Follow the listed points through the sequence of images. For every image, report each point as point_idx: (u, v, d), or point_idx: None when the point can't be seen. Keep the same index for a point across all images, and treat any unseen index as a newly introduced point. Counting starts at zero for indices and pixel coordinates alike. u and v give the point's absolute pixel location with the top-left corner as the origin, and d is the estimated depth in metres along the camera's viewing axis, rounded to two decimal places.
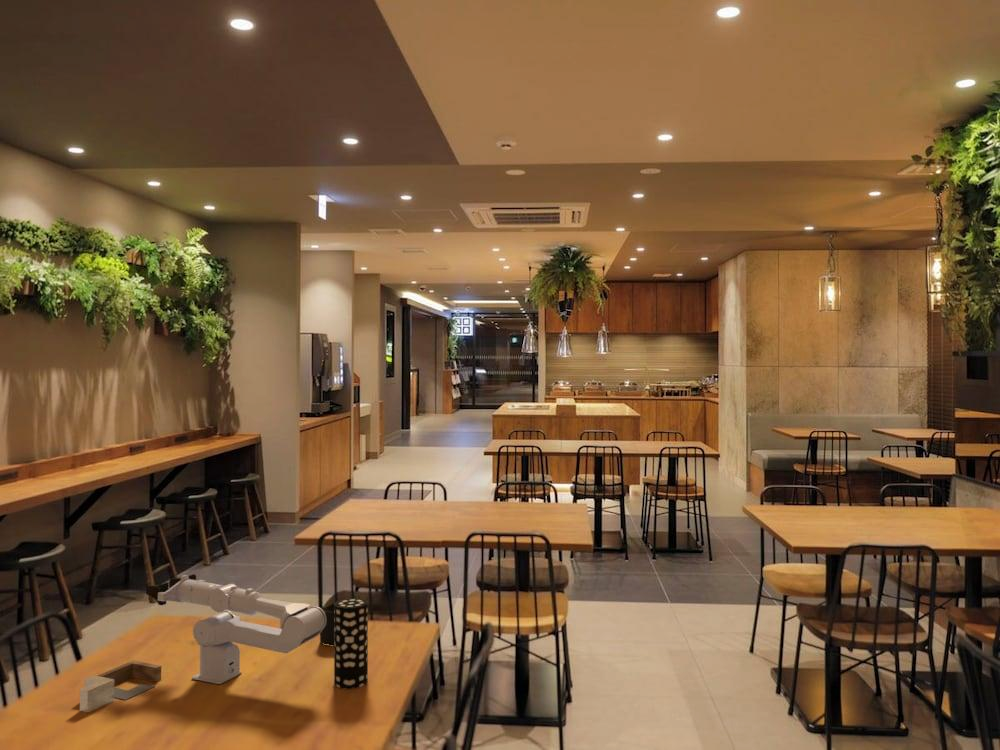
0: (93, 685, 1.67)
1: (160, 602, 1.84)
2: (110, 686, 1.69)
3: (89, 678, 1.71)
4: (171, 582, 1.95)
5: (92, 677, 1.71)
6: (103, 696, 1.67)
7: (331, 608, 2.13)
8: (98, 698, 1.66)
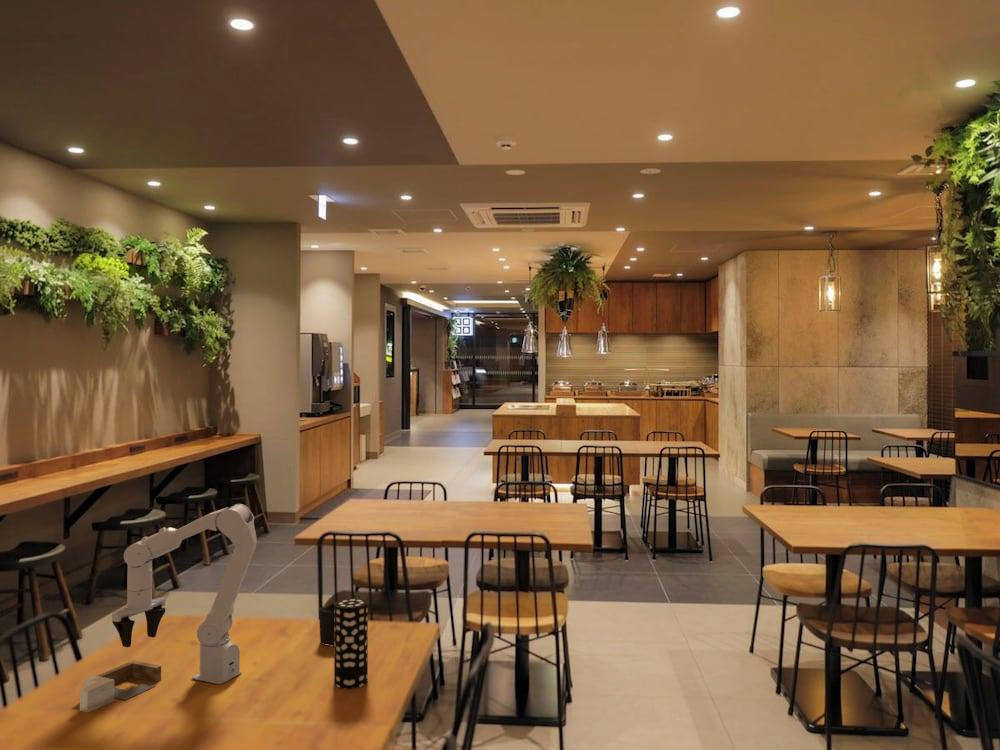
0: (93, 685, 1.67)
1: (125, 622, 1.77)
2: (109, 686, 1.69)
3: (89, 678, 1.71)
4: (149, 634, 1.87)
5: (92, 677, 1.71)
6: (103, 696, 1.67)
7: (331, 608, 2.13)
8: (98, 698, 1.66)
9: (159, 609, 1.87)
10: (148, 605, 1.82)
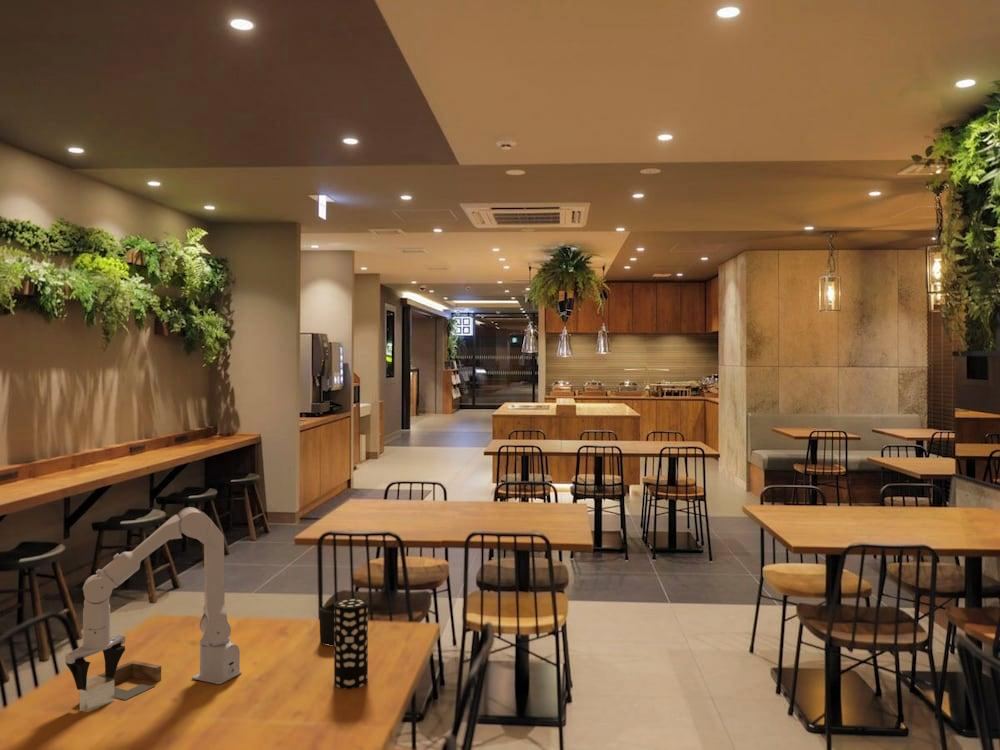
0: (93, 685, 1.67)
1: (79, 664, 1.65)
2: (109, 686, 1.69)
3: (89, 678, 1.71)
4: (108, 674, 1.74)
5: (92, 677, 1.71)
6: (103, 696, 1.67)
7: (331, 608, 2.13)
8: (98, 698, 1.66)
9: (118, 648, 1.74)
10: (105, 644, 1.70)
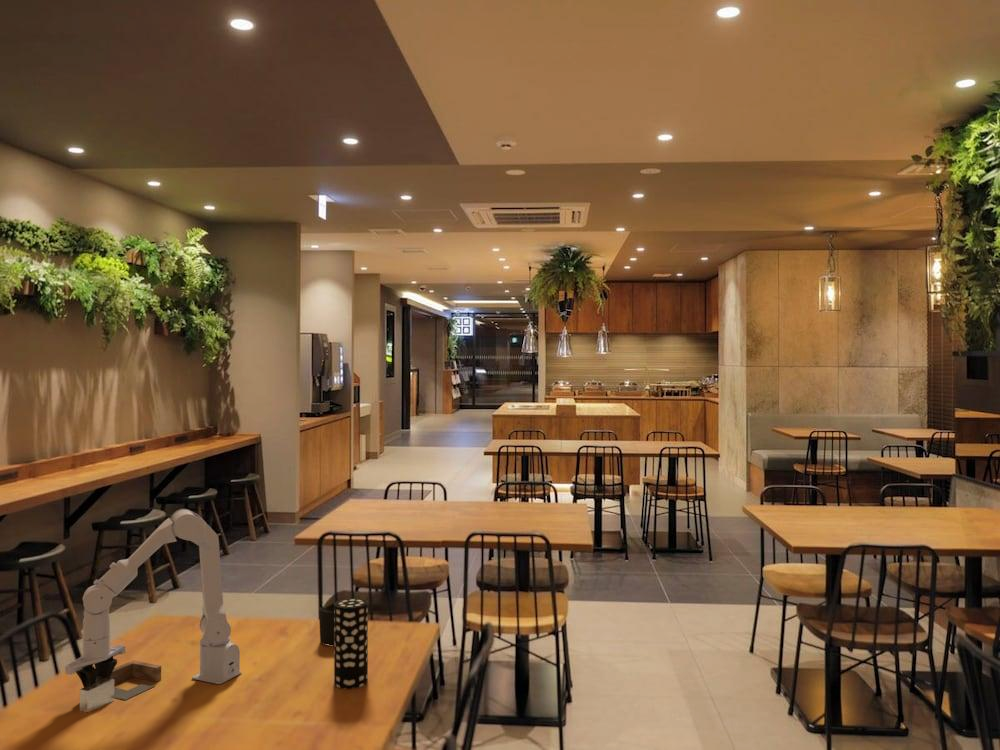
0: (93, 685, 1.67)
1: (88, 671, 1.67)
2: (109, 686, 1.69)
3: None
4: None
5: None
6: (103, 696, 1.67)
7: (331, 608, 2.13)
8: (98, 698, 1.66)
9: (110, 661, 1.72)
10: (105, 655, 1.70)
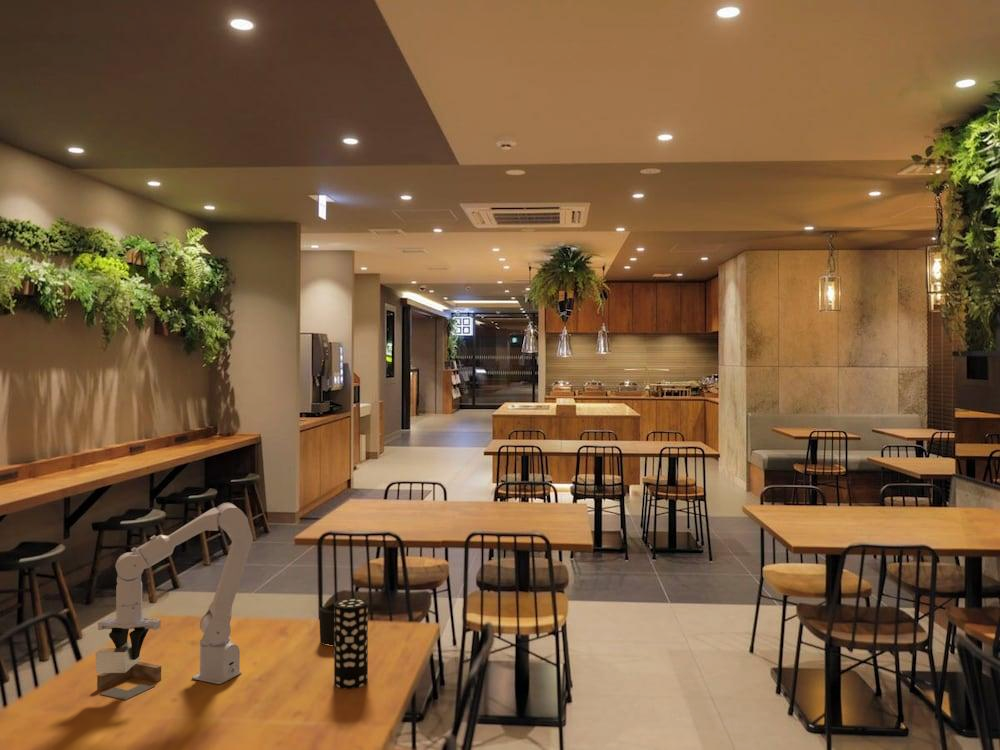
0: (110, 649, 1.72)
1: (110, 633, 1.73)
2: (119, 657, 1.70)
3: (130, 641, 1.76)
4: None
5: None
6: (112, 664, 1.70)
7: (331, 608, 2.13)
8: (107, 663, 1.70)
9: (134, 631, 1.73)
10: (124, 623, 1.72)
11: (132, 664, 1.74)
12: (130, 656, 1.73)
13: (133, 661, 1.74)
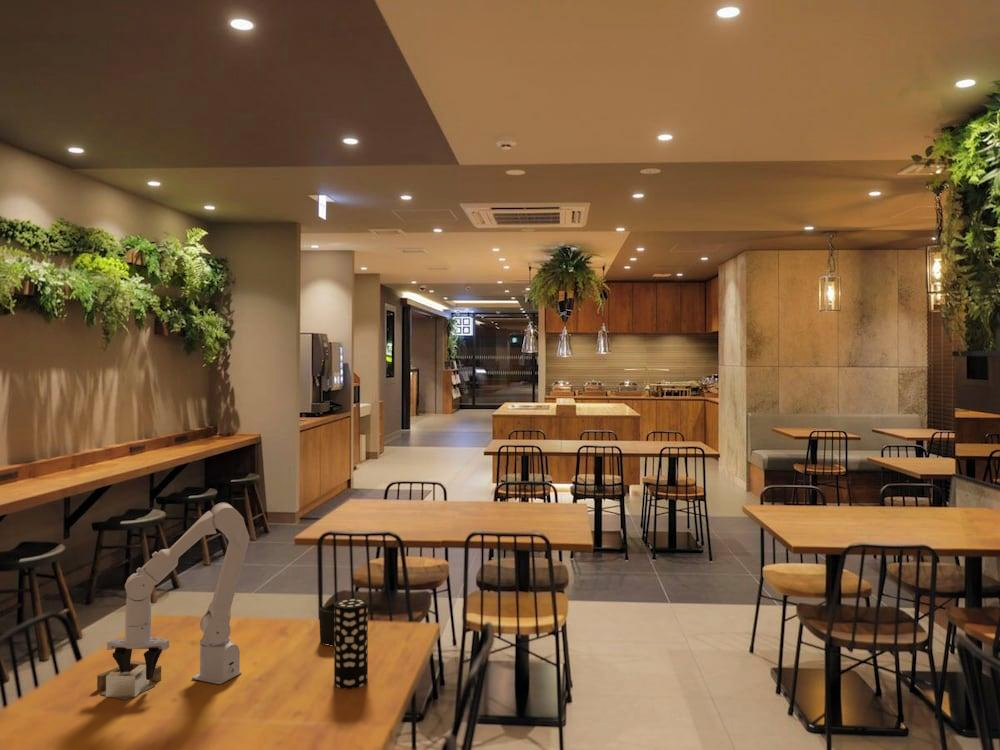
0: (120, 673, 1.73)
1: (114, 653, 1.74)
2: (130, 681, 1.72)
3: (140, 666, 1.78)
4: None
5: (141, 666, 1.77)
6: (122, 688, 1.72)
7: (331, 608, 2.13)
8: (117, 687, 1.72)
9: (149, 652, 1.74)
10: (133, 643, 1.73)
11: (141, 689, 1.75)
12: (140, 680, 1.74)
13: (143, 686, 1.75)
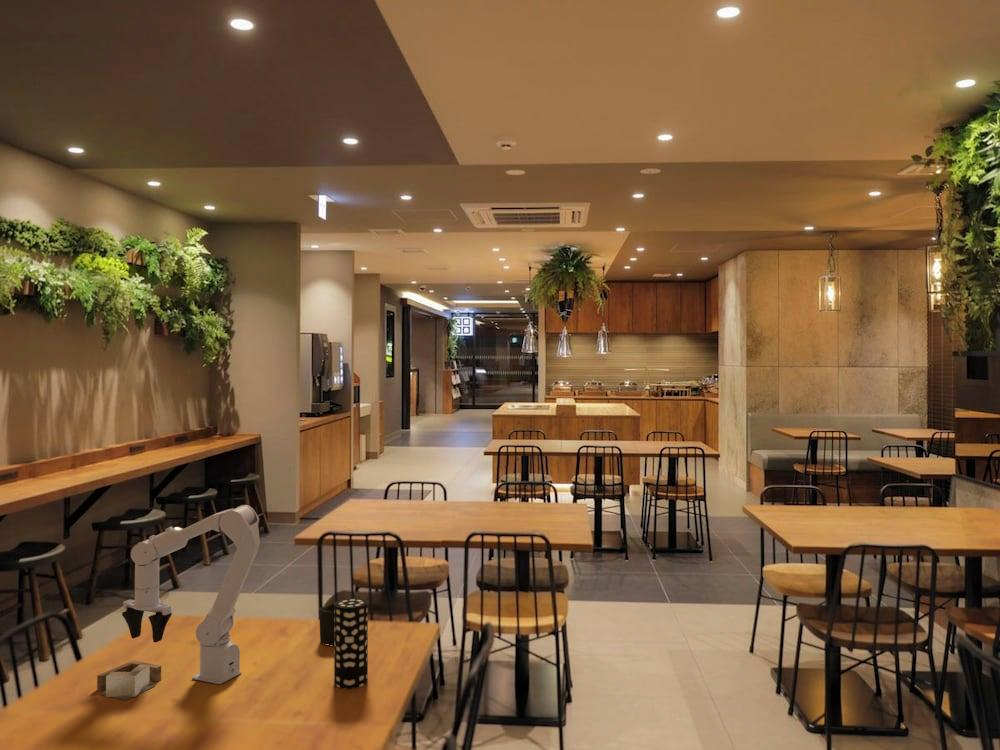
0: (120, 673, 1.73)
1: (124, 612, 1.85)
2: (130, 681, 1.72)
3: (140, 666, 1.78)
4: None
5: (141, 666, 1.77)
6: (122, 688, 1.72)
7: (331, 608, 2.13)
8: (117, 687, 1.72)
9: (154, 615, 1.82)
10: (138, 605, 1.82)
11: (141, 689, 1.75)
12: (140, 680, 1.74)
13: (143, 686, 1.75)
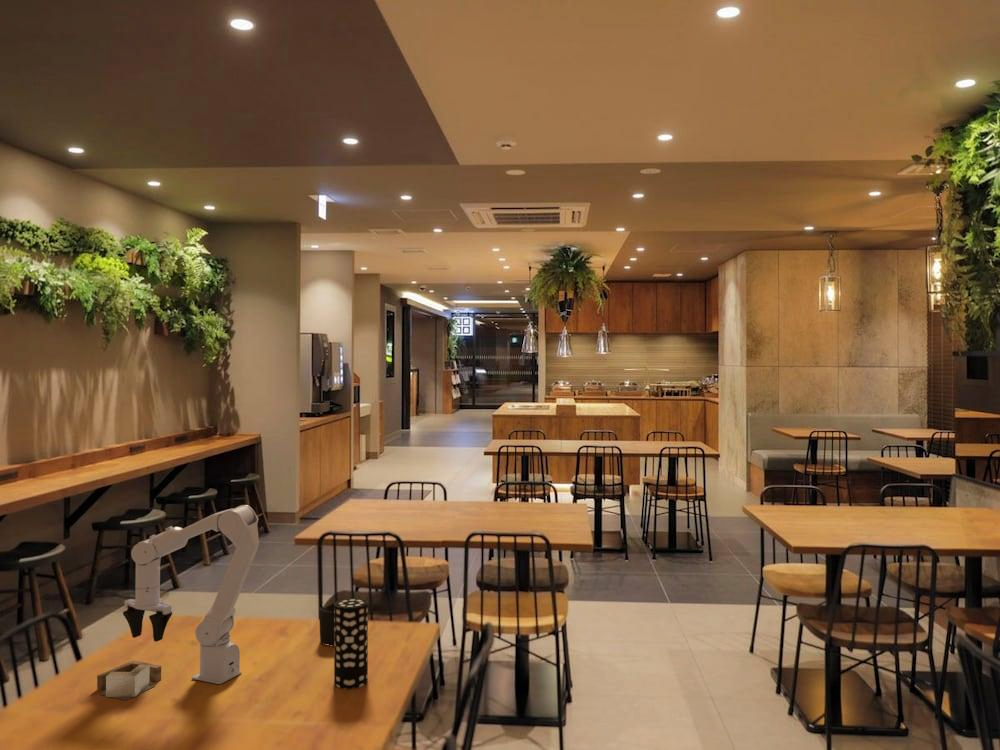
0: (120, 673, 1.73)
1: (125, 611, 1.86)
2: (130, 681, 1.72)
3: (140, 666, 1.78)
4: None
5: (141, 666, 1.77)
6: (122, 688, 1.72)
7: (331, 608, 2.13)
8: (117, 687, 1.72)
9: (154, 615, 1.82)
10: (139, 605, 1.83)
11: (141, 689, 1.75)
12: (140, 680, 1.74)
13: (143, 686, 1.75)
